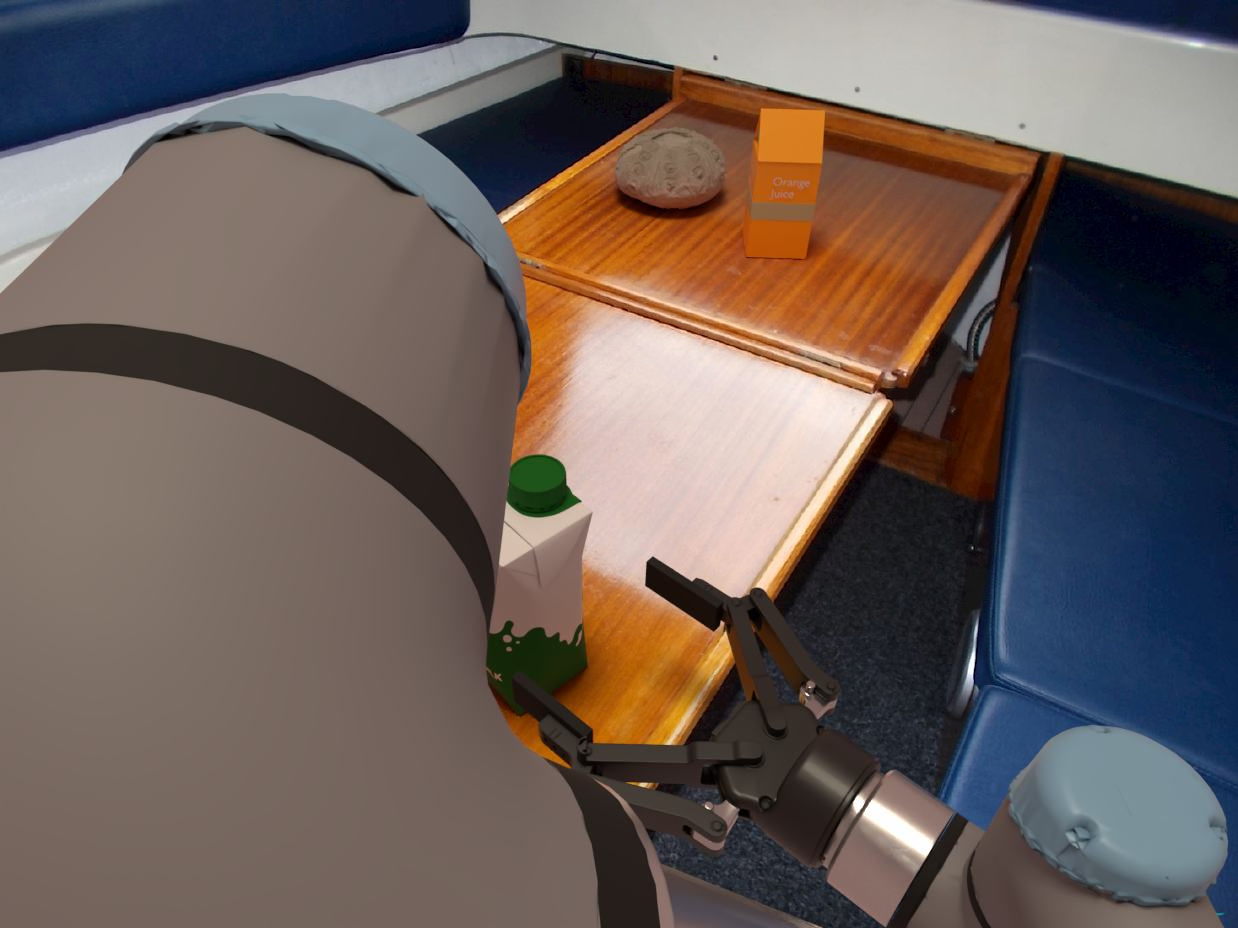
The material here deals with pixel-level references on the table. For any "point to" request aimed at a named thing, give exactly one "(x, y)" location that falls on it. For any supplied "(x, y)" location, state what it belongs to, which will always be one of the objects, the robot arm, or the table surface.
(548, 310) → the table surface
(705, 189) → the decorative shell
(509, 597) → the soya milk
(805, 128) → the orange juice
